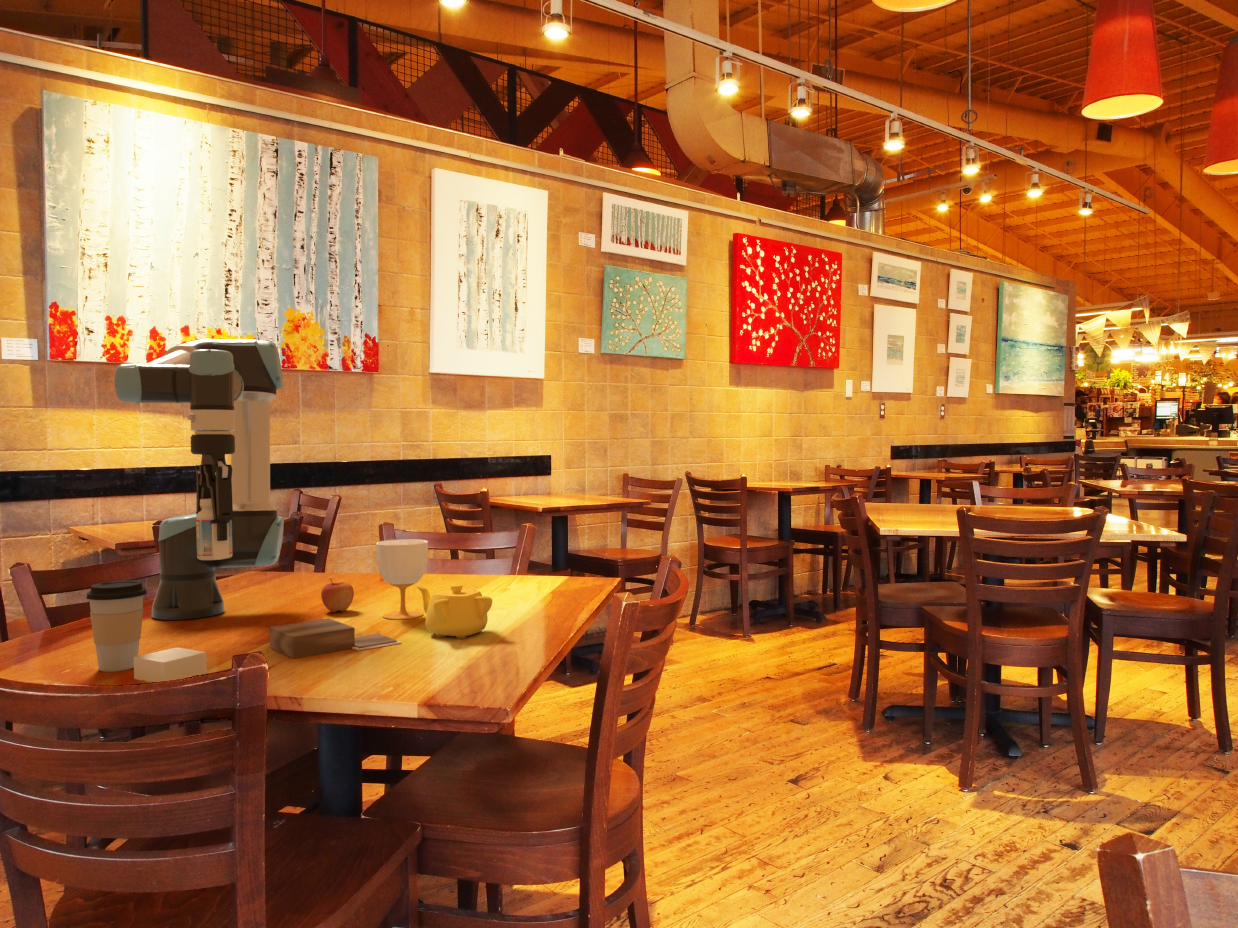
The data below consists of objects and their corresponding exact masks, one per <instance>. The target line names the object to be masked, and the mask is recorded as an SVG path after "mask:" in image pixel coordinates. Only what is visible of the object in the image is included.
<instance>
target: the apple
mask: <svg viewBox="0 0 1238 928" xmlns="http://www.w3.org/2000/svg"><path fill="white" fill-rule="evenodd" d="M329 579H330V581H331V583H327V584H326V583H325V585H324V586H323V587H322V588H321V593H320V598H321V602H322V603H323V606H324V607H325V608H326V609H327V610H329V612H331V613H333V614H334V613H336V612H338V611H340V612H341V613H342V612H343V613H344V612H346V611H347V610H348V608H349V607H350V606H351V604H352V603H353V599H354V595H355V592H354V591H355V590H354V587H353V585H352V584H351V583H348V582H344V581H343V582H333V579H332V578H329Z"/></svg>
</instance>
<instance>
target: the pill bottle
mask: <svg viewBox="0 0 1238 928" xmlns="http://www.w3.org/2000/svg"><path fill="white" fill-rule="evenodd" d="M200 507H201V508H202V511H200V512H199V513H198V514H197V515H196V533H197V558H198V559H200V560H221V559H226V558H221V559H212V524H210V521H211V520H214V517H213V509H212V500H211V498H208V499H200ZM232 555H233V548H232V520H230V522H229V558H231V557H232Z"/></svg>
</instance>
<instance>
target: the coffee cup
mask: <svg viewBox="0 0 1238 928" xmlns="http://www.w3.org/2000/svg"><path fill="white" fill-rule="evenodd" d="M147 593H148V592H147V588H146V587H144V586H143V582H142V581H140V580H115V581H114V580H113V581H106V582H105V581H104V582H99V583H95V584H92V585H90V591H88V592H87V593H86V597H85V598H86V599H87V600H89V608H90V612H89V615H90V623H91V630H92V637H93V643H94V645H95V650H96V658H97V665H98V671H101V672H106V673H107V672H108V673H111V672H112V673H114V672H122V671H123V672H124V671H127V670H131V669H134V657H136V656H139V648H140V640H141V637H142V627H143V617H144V616H143V615H144V608H143V607H144V605H143V604H144V596H145V595H147Z"/></svg>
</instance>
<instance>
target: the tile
mask: <svg viewBox="0 0 1238 928" xmlns="http://www.w3.org/2000/svg"><path fill="white" fill-rule="evenodd" d="M400 644H402V641H400V640H397V639H394V638H391V637H389V636H385V635H383V634H380V633H376V634H368V635H363V636H362V635H361V636H357V637H355V647H352V650H354V651H357V652H360V651H365V650H371V649H377V648H382V647H388V646H393V645H400Z"/></svg>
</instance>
